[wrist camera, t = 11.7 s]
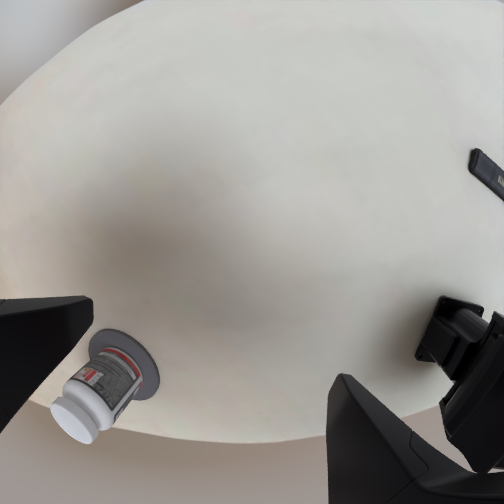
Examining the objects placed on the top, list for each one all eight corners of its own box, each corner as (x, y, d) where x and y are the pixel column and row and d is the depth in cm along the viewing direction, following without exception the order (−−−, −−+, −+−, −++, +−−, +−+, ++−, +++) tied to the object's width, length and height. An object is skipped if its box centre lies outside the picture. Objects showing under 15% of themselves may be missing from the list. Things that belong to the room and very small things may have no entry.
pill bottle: (95, 341, 24) (36, 389, 15) (137, 349, 23) (79, 410, 14) (109, 383, 25) (62, 435, 16) (150, 393, 25) (106, 456, 15)
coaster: (161, 348, 24) (159, 351, 23) (158, 407, 26) (156, 411, 25) (89, 317, 24) (86, 319, 24) (94, 377, 26) (92, 380, 26)
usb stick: (464, 170, 17) (473, 169, 16) (469, 146, 17) (478, 143, 15) (517, 217, 17) (526, 218, 15) (522, 195, 16) (531, 196, 15)
